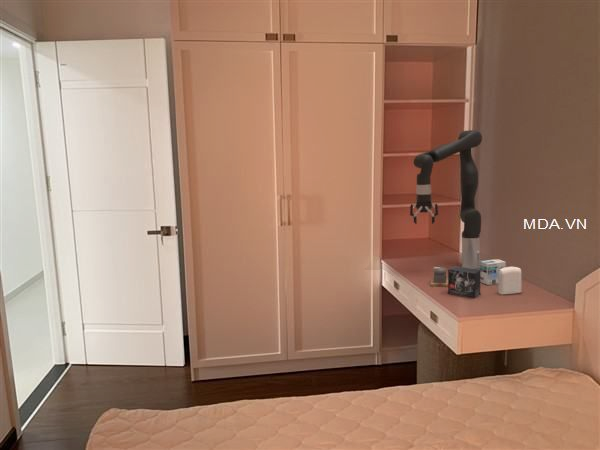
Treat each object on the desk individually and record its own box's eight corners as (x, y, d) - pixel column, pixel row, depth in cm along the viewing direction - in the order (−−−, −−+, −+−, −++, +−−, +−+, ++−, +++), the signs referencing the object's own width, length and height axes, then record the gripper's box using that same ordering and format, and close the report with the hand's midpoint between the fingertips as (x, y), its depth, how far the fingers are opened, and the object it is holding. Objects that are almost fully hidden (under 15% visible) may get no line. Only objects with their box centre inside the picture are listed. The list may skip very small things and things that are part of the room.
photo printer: (501, 295, 218) (501, 269, 216) (496, 292, 222) (496, 266, 220) (522, 293, 219) (523, 267, 217) (517, 290, 223) (518, 265, 221)
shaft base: (453, 280, 244) (453, 271, 244) (453, 287, 234) (453, 277, 233) (431, 280, 248) (430, 271, 247) (430, 286, 237) (430, 277, 237)
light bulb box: (487, 285, 234) (487, 264, 232) (478, 281, 240) (479, 261, 239) (506, 282, 237) (506, 261, 235) (497, 279, 243) (497, 258, 241)
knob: (446, 279, 243) (446, 266, 242) (446, 283, 237) (446, 269, 236) (434, 279, 245) (433, 265, 244) (433, 282, 239) (433, 268, 238)
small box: (447, 293, 225) (447, 269, 223) (454, 290, 230) (453, 265, 228) (475, 298, 216) (475, 273, 214) (481, 294, 221) (481, 269, 219)
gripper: (438, 191, 252) (438, 222, 254) (410, 192, 256) (410, 222, 259) (437, 193, 245) (438, 224, 247) (409, 194, 249) (409, 224, 252)
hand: (424, 223), depth 253 cm, fingers open, 8 cm apart
